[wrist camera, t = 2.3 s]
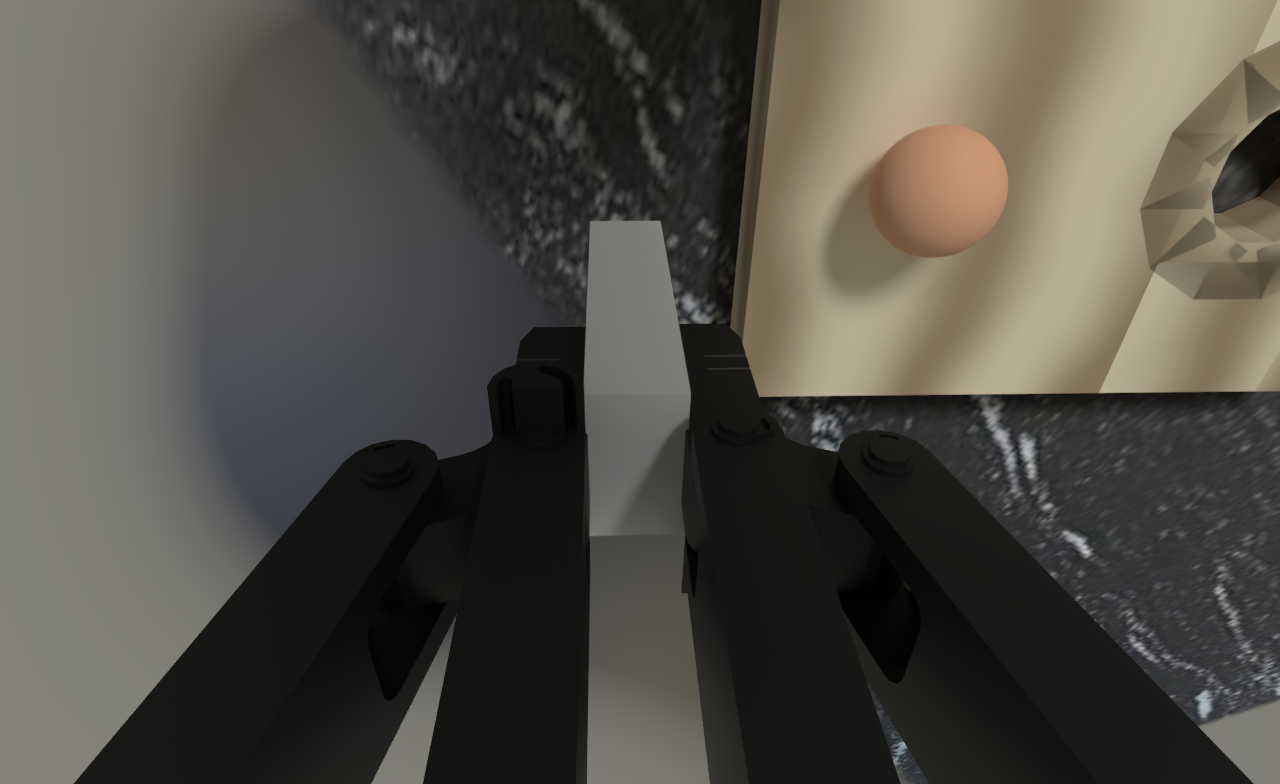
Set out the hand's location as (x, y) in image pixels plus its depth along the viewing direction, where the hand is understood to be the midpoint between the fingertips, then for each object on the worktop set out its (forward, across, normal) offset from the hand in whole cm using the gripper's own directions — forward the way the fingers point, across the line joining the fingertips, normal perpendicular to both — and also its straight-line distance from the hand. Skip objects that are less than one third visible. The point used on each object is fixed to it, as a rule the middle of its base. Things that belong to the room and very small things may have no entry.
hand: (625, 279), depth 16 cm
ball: (+4, +9, 0) cm, 10 cm away
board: (+9, +15, 0) cm, 17 cm away
